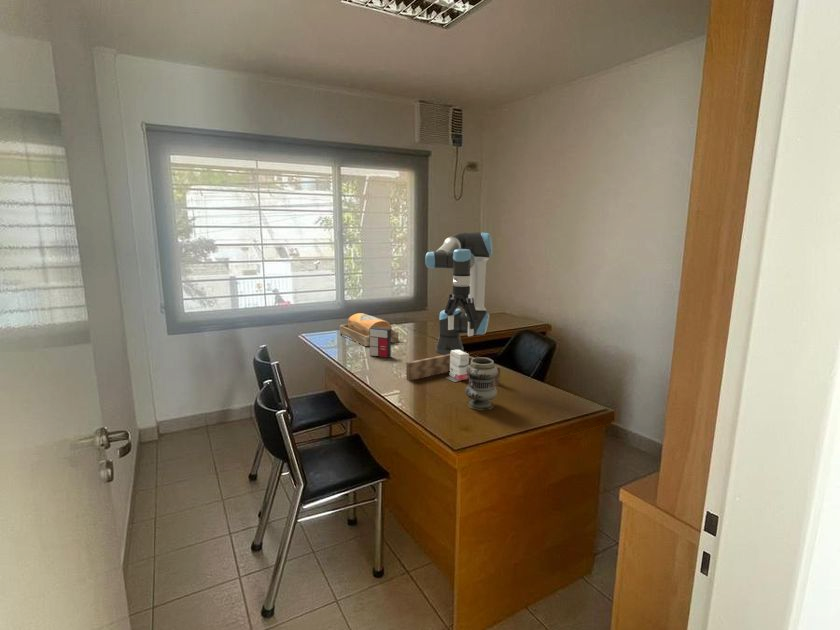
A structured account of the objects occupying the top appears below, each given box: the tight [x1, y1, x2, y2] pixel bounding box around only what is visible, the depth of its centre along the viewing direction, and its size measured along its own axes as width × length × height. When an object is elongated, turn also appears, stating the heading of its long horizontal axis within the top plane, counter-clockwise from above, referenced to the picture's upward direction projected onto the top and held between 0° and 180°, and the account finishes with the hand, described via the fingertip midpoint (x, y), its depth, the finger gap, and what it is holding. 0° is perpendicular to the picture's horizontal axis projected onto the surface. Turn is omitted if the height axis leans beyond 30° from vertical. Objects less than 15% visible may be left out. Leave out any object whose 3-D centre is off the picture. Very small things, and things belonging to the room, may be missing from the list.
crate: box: [339, 323, 399, 347], centre depth 267 cm, size 22×35×6 cm, turn 35°
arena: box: [405, 354, 501, 387], centre depth 191 cm, size 30×28×8 cm
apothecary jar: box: [464, 356, 498, 411], centre depth 165 cm, size 12×12×18 cm
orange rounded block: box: [347, 312, 393, 336], centre depth 265 cm, size 30×16×14 cm, turn 33°
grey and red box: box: [369, 327, 392, 359], centre depth 228 cm, size 11×4×15 cm, turn 68°
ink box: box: [449, 350, 470, 382], centre depth 196 cm, size 9×5×12 cm, turn 29°
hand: (460, 332), depth 193 cm, fingers open, 13 cm apart
